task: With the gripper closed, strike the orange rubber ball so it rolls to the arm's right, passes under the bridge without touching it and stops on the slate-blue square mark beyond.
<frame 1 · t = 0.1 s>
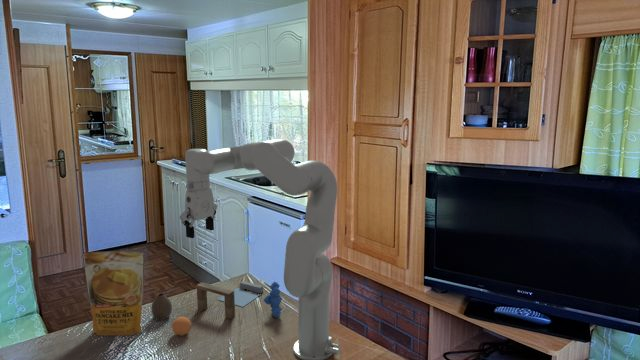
hand: (200, 233, 157), 31 cm above the table, tool pointing down, fingers open, 9 cm apart
pancake mix bag: (118, 331, 153), on the table
bridge: (216, 312, 166), on the table
vase: (162, 317, 162), on the table
ball: (181, 325, 151), on the table
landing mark: (239, 297, 178), on the table
stopper wall: (251, 290, 185), on the table
grapes: (273, 314, 165), on the table
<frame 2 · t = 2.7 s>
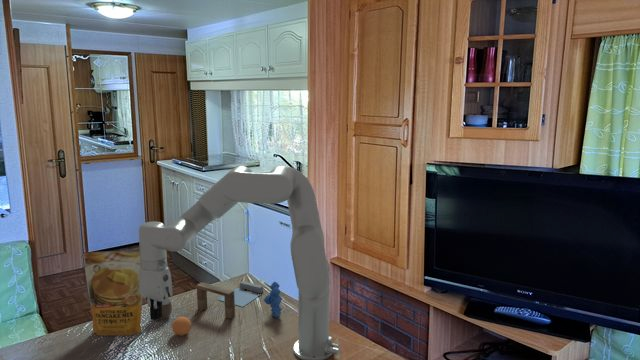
hand: (156, 318, 141), 10 cm above the table, tool pointing down, fingers closed
nothing on the table moved.
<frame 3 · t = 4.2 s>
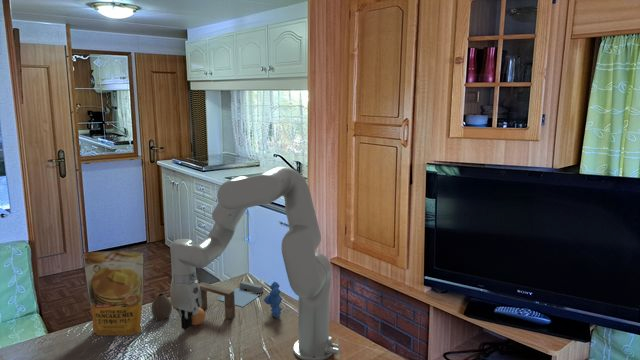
hand: (186, 327, 153), 1 cm above the table, tool pointing down, fingers closed
ball: (196, 315, 157), on the table
everything else where it was.
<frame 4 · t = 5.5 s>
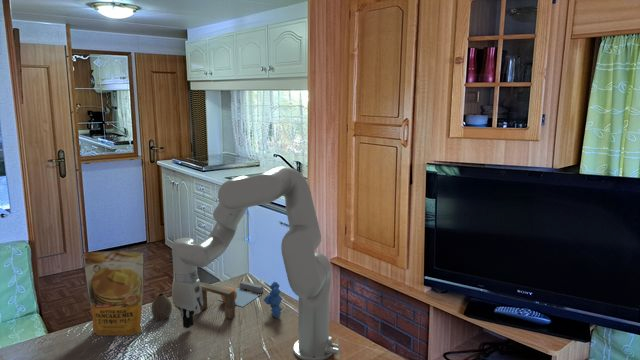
hand: (188, 326, 154), 2 cm above the table, tool pointing down, fingers closed
ball: (228, 295, 173), on the table
everything else where it was.
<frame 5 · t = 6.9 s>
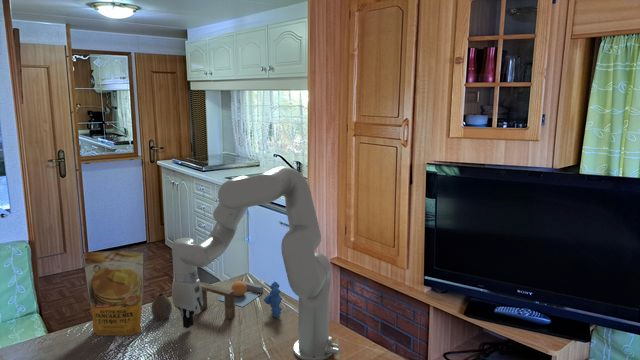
hand: (188, 326, 154), 2 cm above the table, tool pointing down, fingers closed
ball: (239, 288, 179), on the table
everything else where it was.
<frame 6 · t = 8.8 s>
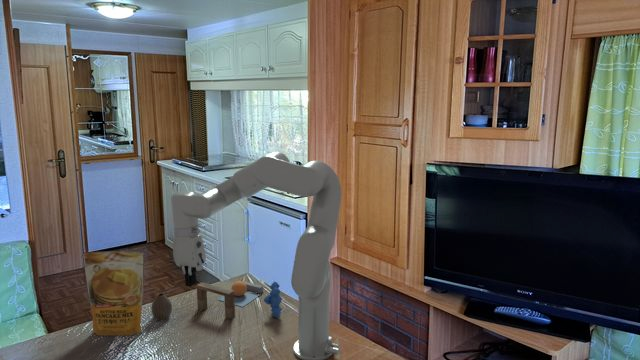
hand: (191, 284, 147), 18 cm above the table, tool pointing down, fingers closed
nothing on the table moved.
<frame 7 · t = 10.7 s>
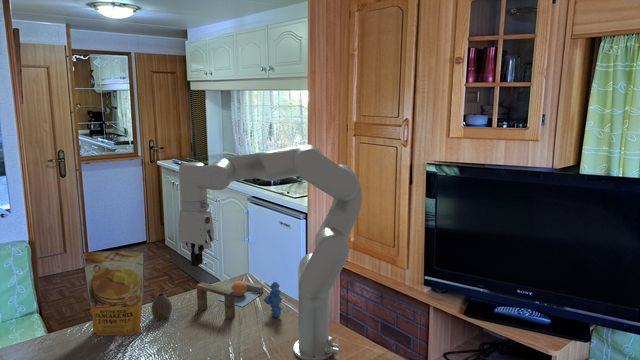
hand: (197, 264, 135), 29 cm above the table, tool pointing down, fingers closed
nothing on the table moved.
at the end: ball 1.5 cm from the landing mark (horizontally); ball never touched bridge; ball at rest at the end (0.0 cm/s) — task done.
